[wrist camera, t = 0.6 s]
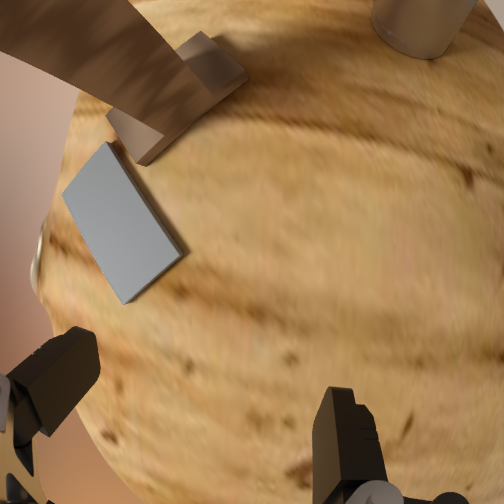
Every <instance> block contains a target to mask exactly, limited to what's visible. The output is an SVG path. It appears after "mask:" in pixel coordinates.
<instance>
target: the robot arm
mask: <svg viewBox="0 0 504 504" xmlns="http://www.w3.org/2000/svg"><path fill="white" fill-rule="evenodd" d="M477 1H478V0H374V5H373V10H372V16H371V19H372V24H373V26H374V29H375V30H376V32H377V33H378V35H379V36H380V37H381V38H382V39H383V40H384V41H385V42H386V43H387V44H389V45H390V46H391V47H393V48H394V49H396V50H398V51H399V52H401V53H404V54H406V55H408V56H411V57H415V58H419V59H434V58H437V57H439V56H441V55H442V54H443V53H444V52H445V50H446V49H447V47H448V46H449V44H450V43H451V41H452V40H453V38H454V37H455V35H456V34H457V33H458V31H459V30H460V28H461V26H462V25H463V23H464V22H465V20H466V19H467V17H468V15H469V14H470V12H471V11H472V9H473V8H474V6H475V4H476V3H477ZM100 369H101V367H100V360H99V354H98V347H97V341H96V336H95V334H94V333H93V332H91V331H88V330H86V329H83V328H80V327H78V326H74V327H72V328H71V329H70V330H68V331H67V332H66V333H65V334H63V335H59V336H57V337H54V338H52V339H49V340H48V341H47V342H46V343H44V344H43V345H42V346H41V347H40V349H39V348H38V349H37V350H36V351H35V352H33V355H32V354H31V355H30V356H29V357H27V358H26V359H25V360H24V361H23V362H21V363H20V364H19V365H18V366H17V367H15V368H14V369H13V370H12V371H11V372H10V373H8V374H7V375H6V376H5V375H3V374H0V504H55V503H53V502H51V501H50V500H48V501H47V499H46V496H45V494H44V491H43V489H42V487H41V484H40V478H39V469H38V457H37V440H36V437H35V434H36V433H37V432H38V431H40V432H41V433H43V434H45V435H46V436H48V437H50V436H51V435H52V434H53V433H54V432H55V430H56V429H57V428H58V427H59V425H60V424H61V423H62V422H63V420H64V419H65V418H66V417H67V416H68V414H69V413H70V412H71V411H72V410H73V408H74V407H75V406H76V405H77V404H78V402H79V401H80V400H81V399H82V398H83V397H84V395H85V394H86V393H87V392H88V391H89V389H90V388H91V387H92V386H93V385H94V384H95V382H96V381H97V380H98V377H99V375H100ZM378 439H379V438H378V434H377V431H376V425H375V421H374V417H373V415H372V414H371V413H370V411H369V410H368V409H367V407H366V406H365V405H360V404H356V403H355V398H354V393H353V390H352V389H351V388H341V387H330V386H329V387H328V388H327V390H326V392H325V395H324V398H323V400H322V403H321V405H320V408H319V410H318V412H317V415H316V417H315V420H314V424H313V431H312V448H313V504H469V502H468V501H467V500H466V498H465V497H463V496H462V495H460V494H458V493H455V492H446V493H443V494H441V495H439V496H437V497H436V498H435V499H434V500H433V501H426V500H419V499H413V498H408V497H405V496H402V494H401V492H400V490H399V489H398V488H397V487H396V486H394V485H393V484H391V483H389V482H388V479H387V474H386V469H385V465H384V460H383V455H382V451H381V446H380V442H379V441H378Z"/></svg>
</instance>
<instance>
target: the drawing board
mask: <svg viewBox="0 0 504 504" xmlns="http://www.w3.org/2000/svg"><path fill="white" fill-rule="evenodd" d="M62 197H63V199H64V201H65V203H66V205H67V207H68V209H69V211H70V213H71V215H72V217H73V219H74V221H75V223H76V225H77V227H78V229H79V231H80V233H81V235H82V237H83V239H84V240H85V242H86V244H87V246H88V248H89V250H90V251H91V253H92V255H93V257H94V258H95V260H96V262H97V264H98V265H99V267H100V269H101V270H102V272H103V274H104V276H105V277H106V279H107V280H108V282H109V284H110V285H111V287H112V289H113V290H114V292H115V293H116V295H117V297H118V298H119V300H120V301H121V303H122V304H123V305H125V304H128V303H129V302H130V301H131V300H132V299H134V298H135V297H136V296H137V295H138V294H139V293H140V292H141V291H143V290H144V289H145V288H146V287H147V286H148V285H149V284H151V283H152V282H153V281H154V280H155V279H156V278H157V277H159V276H160V275H161V274H162V273H163V272H164V271H165V270H167V269H168V268H169V267H170V266H171V265H172V264H174V263H175V262H176V261H177V260H178V259H179V258H181V257H182V256H183V255H184V254H183V253H182V251H181V250H180V248H179V247H178V245H177V244H176V243H175V241H174V240H173V238H172V237H171V235H170V234H169V232H168V231H167V229H166V228H165V227H164V225H163V224H162V222H161V221H160V219H159V218H158V216H157V215H156V213H155V212H154V210H153V209H152V207H151V206H150V204H149V203H148V201H147V200H146V198H145V197H144V195H143V194H142V192H141V190H140V189H139V187H138V186H137V184H136V183H135V181H134V180H133V178H132V177H131V175H130V173H129V172H128V170H127V169H126V167H125V165H124V164H123V162H122V161H121V159H120V157H119V156H118V154H117V153H116V151H115V149H114V148H113V146H112V145H111V143H109V142H107V141H105V142H104V143H103V144H102V145H101V147H100V148H99V149H98V150H97V151H96V152H95V153H94V155H93V156H92V157H91V158H90V159H89V160H88V162H87V163H86V164H85V165H84V166H83V168H82V169H81V170H80V171H79V173H78V174H77V175H76V176H75V178H74V179H73V180H72V181H71V183H70V184H69V185H68V187H67V188H66V189H65V191H64V192H63V193H62Z"/></svg>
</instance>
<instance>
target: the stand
mask: <svg viewBox="0 0 504 504" xmlns="http://www.w3.org/2000/svg"><path fill="white" fill-rule="evenodd" d="M0 51H1V52H3V53H6V54H8V55H10V56H13V57H15V58H17V59H19V60H22V61H24V62H26V63H28V64H30V65H32V66H34V67H36V68H38V69H41V70H43V71H45V72H47V73H49V74H51V75H53V76H55V77H57V78H59V79H61V80H63V81H65V82H67V83H69V84H71V85H73V86H75V87H77V88H79V89H81V90H83V91H85V92H87V93H88V94H90V95H92V96H94V97H96V98H98V99H100V100H102V101H104V102H105V103H107V104H109V105H111V106H113V108H112V109H111V110H110V111H109V112H108V113H107V114H106V115H105V116H106V117H107V119H108V121H109V122H110V124H111V125H112V127H113V128H114V130H115V132H116V133H117V135H118V136H119V138H120V139H121V141H122V143H123V144H124V146H125V147H126V149H127V150H128V152H129V153H130V155H131V157H132V158H133V160H134V161H135V163H136V164H139V165H142V166H145V167H146V166H147V165H148V164H149V163H151V162H152V161H153V160H154V159H155V158H156V157H157V156H158V155H159V154H160V153H161V152H162V151H163V150H164V149H165V148H166V147H167V146H168V145H170V144H171V143H172V142H173V141H174V140H175V139H176V138H177V137H178V136H180V135H181V134H182V133H183V132H184V131H185V130H186V129H187V128H189V127H190V126H191V125H192V124H193V123H194V122H196V121H197V120H198V119H199V118H200V117H201V116H203V115H204V114H205V113H206V112H208V111H209V110H210V109H211V108H212V107H214V106H215V105H216V104H217V103H219V102H220V101H221V100H222V99H224V98H225V97H226V96H227V95H229V94H230V93H231V92H233V91H234V90H235V89H237V88H238V87H239V86H241V85H242V84H243V83H245V82H246V81H247V80H249V77H248V75H247V72H246V70H245V69H244V68H243V67H242V66H241V65H240V64H239V63H237V62H236V61H235V60H234V59H233V58H232V57H231V56H230V55H229V54H228V53H226V52H225V51H224V50H223V49H222V48H221V47H220V46H218V45H217V44H216V43H215V42H214V41H213V40H211V39H210V38H209V37H208V36H207V35H206V34H204V33H203V32H202V31H200V32H198V33H197V34H196V35H194V36H193V37H192V38H190V39H189V40H188V41H186V42H185V43H184V44H182V45H181V46H180V47H179V48H177V49H176V50H175V51H174V50H173V48H172V47H171V46H170V45H169V44H168V43H167V42H166V41H165V40H164V38H163V37H162V36H161V35H160V34H159V33H158V32H157V31H156V30H155V29H154V28H153V26H152V25H151V24H150V23H149V22H148V21H147V20H146V19H145V18H144V17H143V16H142V15H141V14H140V13H139V12H138V11H137V10H136V9H135V7H134V6H133V5H132V4H131V3H130V2H129V1H128V0H0Z"/></svg>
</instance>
